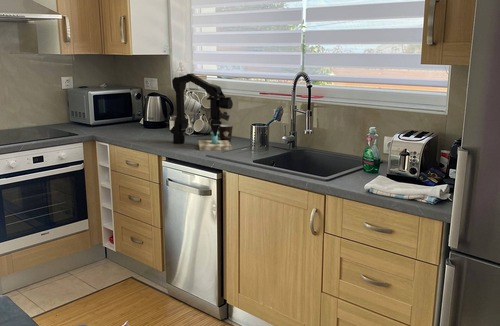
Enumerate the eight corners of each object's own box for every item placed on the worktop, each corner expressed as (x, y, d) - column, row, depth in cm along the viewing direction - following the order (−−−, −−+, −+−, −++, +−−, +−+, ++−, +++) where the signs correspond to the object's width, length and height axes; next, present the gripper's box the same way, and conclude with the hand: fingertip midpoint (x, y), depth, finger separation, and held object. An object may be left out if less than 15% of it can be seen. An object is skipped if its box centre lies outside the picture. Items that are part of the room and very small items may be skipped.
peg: (210, 148, 291) (210, 132, 289) (210, 146, 296) (210, 131, 294) (218, 148, 292) (219, 132, 290) (218, 146, 296) (218, 131, 294)
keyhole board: (199, 150, 284) (199, 146, 283) (198, 144, 301) (198, 140, 300) (231, 150, 286) (231, 145, 286) (228, 144, 304) (228, 140, 303)
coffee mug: (234, 140, 316) (234, 125, 314) (229, 143, 308) (229, 127, 306) (217, 139, 320) (217, 124, 318) (212, 141, 312) (212, 125, 310)
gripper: (230, 109, 281) (230, 137, 284) (227, 106, 299) (227, 132, 302) (210, 109, 279) (210, 137, 282) (208, 106, 297) (208, 132, 300)
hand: (214, 134), depth 292 cm, fingers open, 9 cm apart
